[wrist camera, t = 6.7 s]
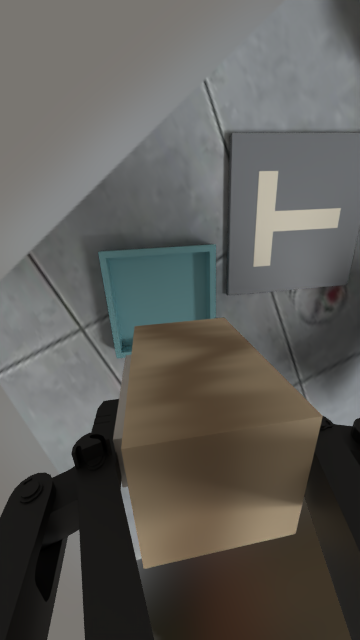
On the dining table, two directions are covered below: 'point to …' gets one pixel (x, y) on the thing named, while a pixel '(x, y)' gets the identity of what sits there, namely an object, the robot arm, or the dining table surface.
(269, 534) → the wooden block
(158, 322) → the tray
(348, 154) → the board
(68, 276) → the dining table surface
